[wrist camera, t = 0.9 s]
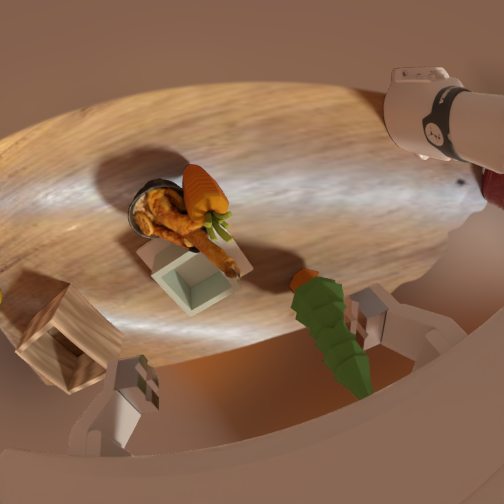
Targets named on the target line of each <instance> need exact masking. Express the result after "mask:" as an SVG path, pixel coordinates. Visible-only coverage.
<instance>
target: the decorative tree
mask: <svg viewBox="0 0 504 504" xmlns="http://www.w3.org/2000/svg"><path fill="white" fill-rule="evenodd" d="M318 273H319V272H317V271H313V270H309V269H304V268H303V269H302V270H300V271H299V272H298V273H297V274H296V275H294V276H293V279H292V281H291V284H290V288H291V289H292V290H293V291H294V293H295V294H294V298H293V302H292V306H291V308H292V309H293V310H294V311H296V312H297V315H296V320H298V321H299V322H300V323H302V324H303V325H304V326H306V327H307V328H309V329H310V336H311V337H313V338H314V339H316V340H317V341H316V343H315V345H316V346H317V347H318V348H319V349H320V350H321V351H322V353H323V354H325V357H324V359H323V362H324V363H325V364H326V365H327V366H328V367H329V368H330V370H331V371H333V373H334V374H335V376H334V379H335V380H336V381H338V382H339V383H340V384H342V385H343V386H344V387H346V388H347V389H349V390H350V391H351V392H352V393H353V394H354V395H355V396H356V397H357V398H358V399H359V400H361V399H363V398H365V397H368V396H370V395H372V394H373V390H372V385H371V380H370V372H369V361H368V356H366V355H365V350H364V351H363V350H362V348H361V347H360V345H359V344H358V343H357V341H356V340H355V339H356V334H353V333H351V332H350V331H349V330H348V328H347V326H346V324H345V320H344V310H345V309H346V305H345V304H344V294H343V290H342V284H337V283H335V280H332V279H327V278H323V277H318Z"/></svg>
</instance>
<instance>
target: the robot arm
mask: <svg viewBox="0 0 504 504" xmlns="http://www.w3.org/2000/svg"><path fill="white" fill-rule="evenodd" d="M402 73H403V75H402ZM384 120H385V124H386V128H387V130H388V133H389V135H390V136H391V138H392V140H393V141H394V142H395V143H396V144H397V145H398V146H399V147H400V148H402V149H404V150H406V151H410V152H413V153H415V154H416V155H417V156H418V157H419V158H420V159H423V160H426V159H428V158H429V157H433V158H437V159H442V160H446V161H448V160H450V159H451V158H452V159H454V160H456V161H460V162H465V163H466V162H471V163H474V164H477V165H479V166H482V167H484V168H487V169H489V170H492V171H494V172H496V173H499V174H504V95H493V94H482V93H475V92H471V91H469V90H467V89H465V88H464V87H463V85H462V83H461V82H460V81H459V80H458V79H457V78H450V77H449V76H448V74H447V72H446V71H445V70H444V69H443V68H441V67H408V68H395V69H393V71H392V76H391V85H390V87H389V89H388V92H387V94H386V97H385V101H384ZM344 304H345V305H346V309H345V310H344V320H345V324H346V326H347V328H348V330H349V331H350V332H351V333H353V334H356V339H355V340H356V341H357V343H358V344H359V345H360V347H361V348H362V350H363V351H364V350H366V349H368V348H371V347H373V346H375V345H377V344H380V343H381V344H382V345H384V346H386V347H388V348H390V349H392V350H394V351H396V352H398V353H400V354H402V355H404V356H406V357H408V358H410V359H412V360H414V361H416V363H415V365H414V368H413V370H412V373H411V374H409V375H408V376H406V377H404V378H402V379H401V380H399V381H397V382H395V383H393V384H391V385H389V386H388V387H386V388H384V389H382V390H380V391H378V392H376V393H374V394H372V395H370V396H368V397H365V398H363V399H361V400H359V401H357V402H355V403H353V404H350V405H348V406H346V407H343V408H341V409H338V410H336V411H334V412H331V413H329V414H326V415H324V416H321V417H318V418H316V419H313V420H310V421H307V422H304V423H302V424H299V425H296V426H293V427H290V428H286V429H283V430H280V431H277V432H274V433H270V434H267V435H263V436H259V437H256V438H252V439H248V440H243V441H239V442H235V443H231V444H226V445H221V446H216V447H211V448H205V449H199V450H192V451H186V452H178V453H169V454H160V455H147V456H133V455H132V454H131V453H129V452H128V451H126V450H125V449H124V447H125V445H126V443H127V441H128V439H129V437H130V435H131V434H132V432H133V430H134V428H135V426H136V424H137V422H138V420H139V418H140V416H141V414H144V413H150V412H156V411H159V397H158V396H157V394H156V392H157V391H158V389H159V382H158V377H157V374H156V372H155V370H154V369H153V367H151V366H149V365H147V361H148V360H147V359H146V357H145V356H144V355H136V356H130V357H124V358H120V359H114V360H110V361H109V362H108V364H107V369H106V375H105V381H104V387H103V392H100V393H99V394H98V395H97V396H96V398H95V399H94V400H93V402H92V403H91V404H90V405H89V407H88V408H87V409H86V411H85V412H84V413H83V414H82V416H81V417H80V418H79V419H78V421H77V422H76V423H75V425H74V426H73V427H72V429H71V431H70V438H69V445H68V453H67V455H61V454H52V453H45V452H38V451H31V450H26V449H21V448H16V447H8V448H6V449H5V450H4V451H3V452H2V453H1V454H0V504H504V307H503V308H501V309H500V310H499V311H498V312H497V313H496V314H495V315H493V316H492V317H491V318H490V319H489V320H487V321H486V322H485V323H484V324H483V325H481V326H480V327H479V328H478V329H476V330H475V331H474V332H472V333H471V334H470V335H469V336H468V335H467V334H466V333H465V332H464V331H463V330H462V329H461V328H460V327H459V326H458V325H457V324H456V323H455V322H454V321H453V320H452V319H451V318H450V317H446V316H443V315H440V314H436V313H433V312H429V311H426V310H423V309H420V308H416V307H413V306H410V305H406V304H401V305H400V304H399V303H398V302H397V301H396V300H395V299H394V298H393V297H392V296H391V295H390V294H389V293H388V292H387V291H386V290H385V289H384V288H383V287H382V286H381V285H380V284H379V283H375V284H372V285H370V286H368V287H365V288H363V289H360V290H358V291H355V292H352V293H350V294H347V295H345V297H344Z"/></svg>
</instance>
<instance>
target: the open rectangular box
mask: <svg viewBox="0 0 504 504" xmlns="http://www.w3.org/2000/svg"><path fill="white" fill-rule="evenodd" d="M220 226H221V225H220ZM212 227H213V226H212ZM221 228H223V227H222V226H221ZM223 229H224V230H225V231H226V232H227V233H228V234H229V235H230V236H231V234H230V233H229V232H228V230H227V229H225V228H223ZM213 230H214V233H215V235H216V238H217V240H216V241H212V240H211V239H210V237H209V236H208V237H209V239H210V240H211V241H212V242H213V243H215V244H216V245H218V246H219V247H221V248H222V249H223V250H224V251H225V253H226V254H227V255H228V256H229V257H232V258H233V260H234V261H235V262H236V264H237V266H238V267H239V269H240V270H241V272H242V276H244V275H245V274H247V273H249V272H250V271H252V270H254V269H253V266H252V265H251V264H250V262H249V261H248V259H247V258H246V256H245V255H244V253H243V252H242V250H241V249H240V248H239V246H238V245H237V243H236V242H235V240H234V239H233V240H232V241H231V242H229V243H227V242H226V241H225V240H223V239H222V238H221V237H220V236H219V235H218V234H217V232H216V231H215V229H214V228H213ZM231 237H232V236H231ZM232 238H233V237H232ZM136 253H137V254H138V255H139V257H140V258H141V259H142V260H143V261H144V262H145V263H146V265H147V266H148V267H149V268H150V269H151V270H152V273H151V276H152V277H153V279H154V280H155V281H156V282H157V283H158V284H159V285H160V286H161V287H162V288H163V289H164V290H165V292H166V293H167V294H168V295H169V296H170V297H171V298H172V299H173V300H174V301H175V302H176V303H177V304H178V305H179V306H180V307H181V308H182V309H183V310H184V311H185V312H186V313H187V314H188V315H189V316H190V317H192V316H193V315H195V314H197V313H199V312H200V311H202V310H204V309H206V308H208V307H209V306H211V305H213V304H215V303H216V302H218V301H220V300H221V299H223V298H225V297H227V296H228V295H230V294H232V293H234V292H235V291H237V290H239V289H241V288H242V287H241V283H240V280H239V279H231V278H228V277H226V276H225V273H224V272H222V271H221V270H220V269H218V268H216V266H215V265H214V264H212V263H211V261H210V260H209V259H208V258H207V257H206V256H205V255H204V254H202V253H201V252H200V253H193V252H190V251H188V250H187V249H185V248H184V247H182V246H179V245H176V244H172V243H171V241H168V240H165V239H164V238H160V239H151V240H150V241H148V242H147V243H145V244H144V245H143V246H141V247H140V248H138V249H137V251H136ZM242 276H241V277H242Z"/></svg>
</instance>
